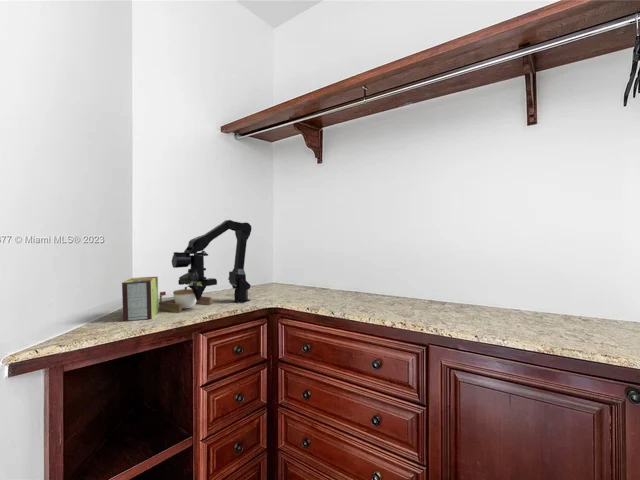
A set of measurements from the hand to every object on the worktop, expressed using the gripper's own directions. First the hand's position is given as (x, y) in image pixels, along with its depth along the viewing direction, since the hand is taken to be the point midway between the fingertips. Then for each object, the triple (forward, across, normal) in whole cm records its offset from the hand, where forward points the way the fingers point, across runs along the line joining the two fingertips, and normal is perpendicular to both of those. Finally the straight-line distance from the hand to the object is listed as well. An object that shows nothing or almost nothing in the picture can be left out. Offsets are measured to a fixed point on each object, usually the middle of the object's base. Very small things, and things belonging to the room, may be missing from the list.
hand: (198, 300), depth 148 cm
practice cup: (+4, -7, 0) cm, 8 cm away
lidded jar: (+4, -8, 0) cm, 9 cm away
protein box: (+4, -11, -20) cm, 23 cm away
